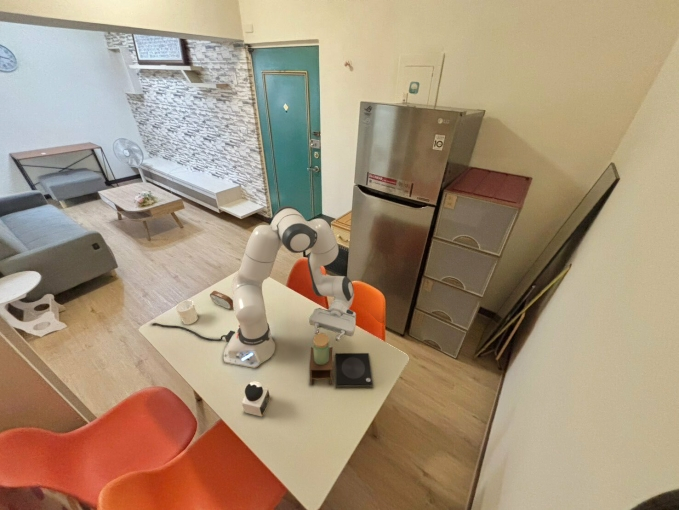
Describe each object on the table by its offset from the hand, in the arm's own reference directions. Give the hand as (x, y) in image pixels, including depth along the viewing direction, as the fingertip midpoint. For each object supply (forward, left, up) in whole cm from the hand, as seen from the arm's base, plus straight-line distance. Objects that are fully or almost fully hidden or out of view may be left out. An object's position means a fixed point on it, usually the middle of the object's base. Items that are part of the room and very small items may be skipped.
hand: (326, 336), depth 108 cm
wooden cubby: (-2, -5, -17) cm, 18 cm away
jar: (-2, -5, -6) cm, 8 cm away
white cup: (-70, +25, -17) cm, 76 cm away
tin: (-56, +34, -17) cm, 68 cm away
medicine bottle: (-26, -18, -17) cm, 36 cm away
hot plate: (+12, -4, -17) cm, 21 cm away
